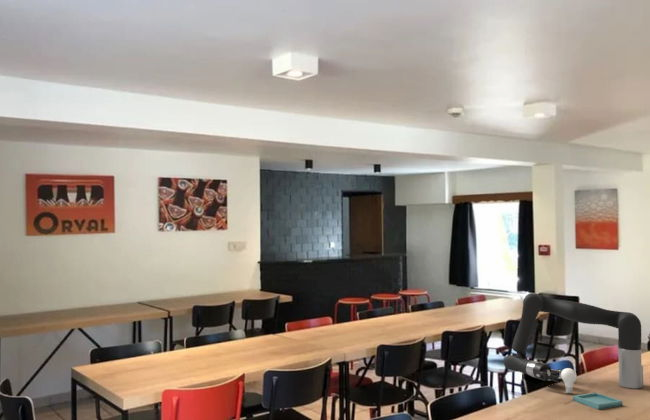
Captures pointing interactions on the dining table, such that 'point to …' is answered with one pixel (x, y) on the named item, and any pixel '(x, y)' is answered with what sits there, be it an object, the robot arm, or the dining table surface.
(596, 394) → the tray
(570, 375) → the lightbulb
